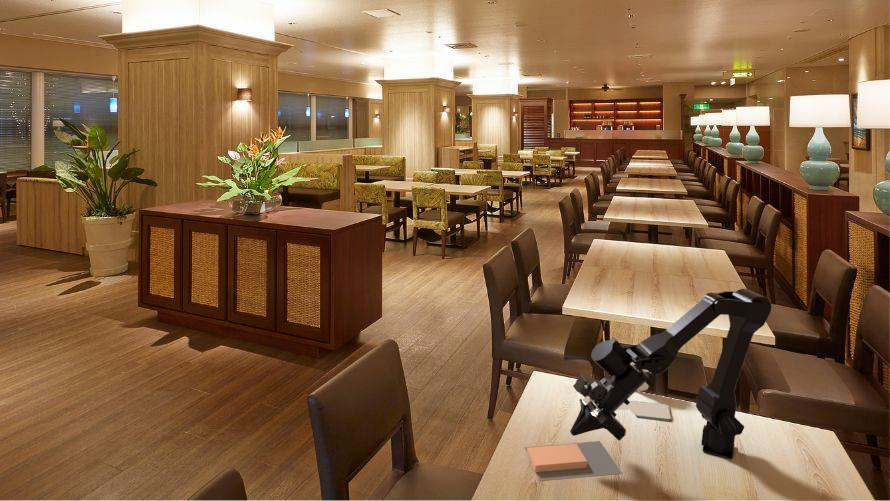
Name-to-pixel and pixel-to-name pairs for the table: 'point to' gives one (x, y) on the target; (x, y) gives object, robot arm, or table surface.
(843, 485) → the table surface
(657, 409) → the smartphone
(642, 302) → the table surface
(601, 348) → the robot arm
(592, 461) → the rubber mat
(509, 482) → the table surface
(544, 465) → the terracotta tile
